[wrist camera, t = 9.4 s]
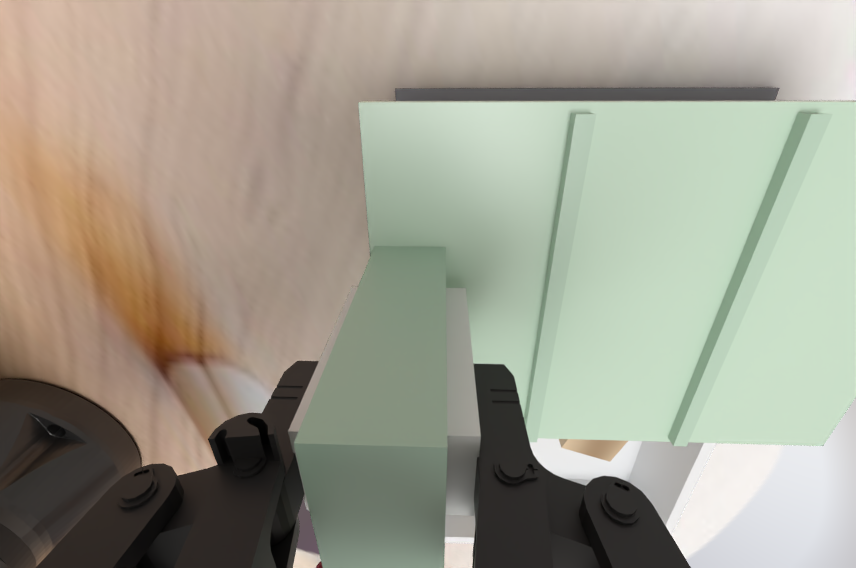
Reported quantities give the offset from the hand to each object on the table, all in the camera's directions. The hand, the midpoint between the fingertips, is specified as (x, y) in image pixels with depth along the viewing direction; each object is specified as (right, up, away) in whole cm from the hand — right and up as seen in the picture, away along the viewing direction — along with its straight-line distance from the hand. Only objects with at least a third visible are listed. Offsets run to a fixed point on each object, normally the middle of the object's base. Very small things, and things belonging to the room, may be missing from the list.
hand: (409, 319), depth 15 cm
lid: (+9, +1, +1) cm, 9 cm away
